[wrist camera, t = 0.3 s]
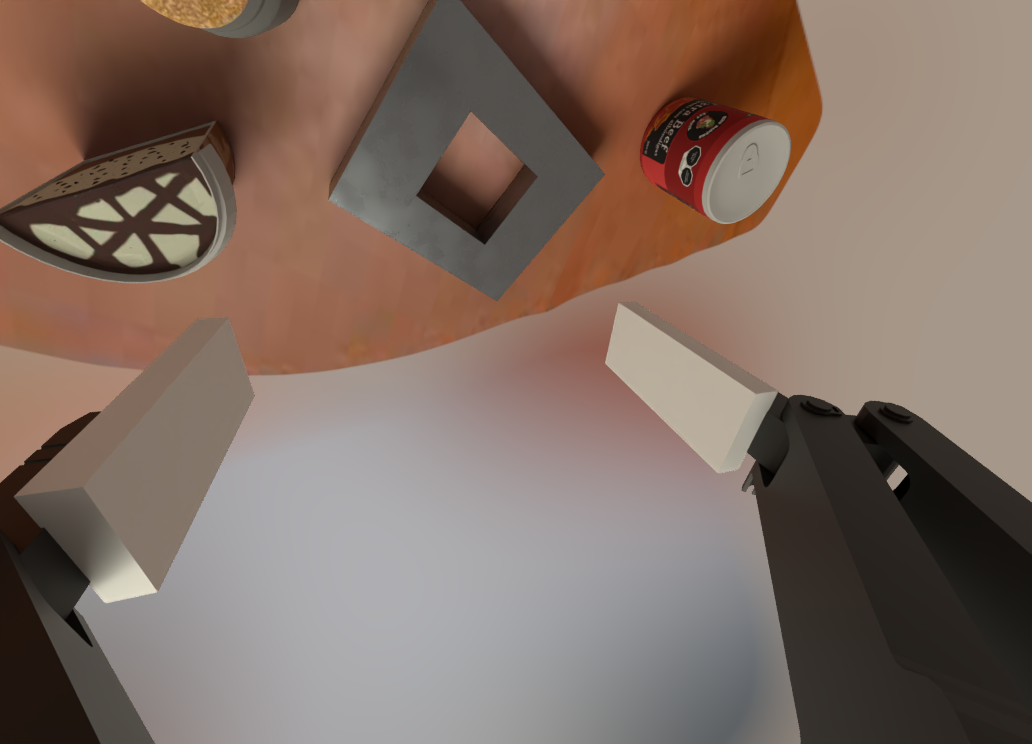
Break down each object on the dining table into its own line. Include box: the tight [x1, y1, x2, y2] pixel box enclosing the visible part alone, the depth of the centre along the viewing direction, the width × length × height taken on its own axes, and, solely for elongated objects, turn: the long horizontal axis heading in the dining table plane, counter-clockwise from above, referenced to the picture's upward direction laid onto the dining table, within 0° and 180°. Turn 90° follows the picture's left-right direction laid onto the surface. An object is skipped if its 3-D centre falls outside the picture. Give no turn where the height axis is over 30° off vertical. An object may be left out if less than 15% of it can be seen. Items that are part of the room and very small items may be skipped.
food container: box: [0, 120, 237, 283], centre depth 25 cm, size 12×6×10 cm, turn 101°
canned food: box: [640, 97, 791, 224], centre depth 35 cm, size 8×8×11 cm
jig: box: [328, 0, 605, 301], centre depth 33 cm, size 16×18×4 cm
